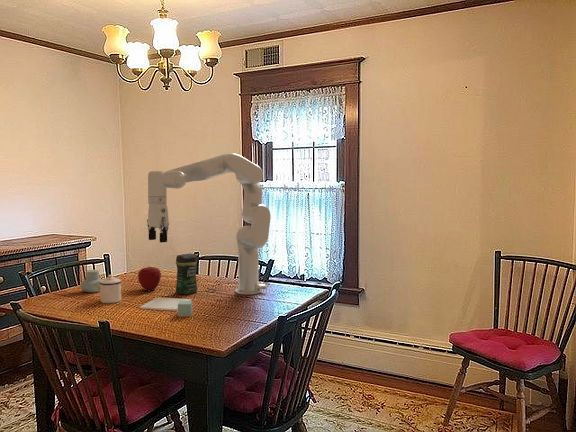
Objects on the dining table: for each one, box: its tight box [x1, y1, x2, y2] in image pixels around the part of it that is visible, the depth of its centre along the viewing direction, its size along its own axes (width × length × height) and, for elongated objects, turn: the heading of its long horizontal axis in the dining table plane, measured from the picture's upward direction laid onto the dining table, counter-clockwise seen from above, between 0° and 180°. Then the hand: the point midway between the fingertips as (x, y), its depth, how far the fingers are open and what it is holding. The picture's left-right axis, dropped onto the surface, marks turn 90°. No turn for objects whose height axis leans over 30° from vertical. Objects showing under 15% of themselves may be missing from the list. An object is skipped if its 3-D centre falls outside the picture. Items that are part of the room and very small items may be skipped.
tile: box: [139, 297, 192, 312], centre depth 216 cm, size 16×16×1 cm
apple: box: [137, 265, 162, 292], centre depth 243 cm, size 11×11×12 cm
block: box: [177, 300, 193, 317], centre depth 201 cm, size 5×5×5 cm
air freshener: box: [80, 269, 102, 294], centre depth 239 cm, size 11×8×10 cm
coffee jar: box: [175, 253, 198, 295], centre depth 236 cm, size 10×8×19 cm
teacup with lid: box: [99, 274, 122, 304], centre depth 222 cm, size 12×9×12 cm
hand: (157, 240), depth 212 cm, fingers open, 9 cm apart
